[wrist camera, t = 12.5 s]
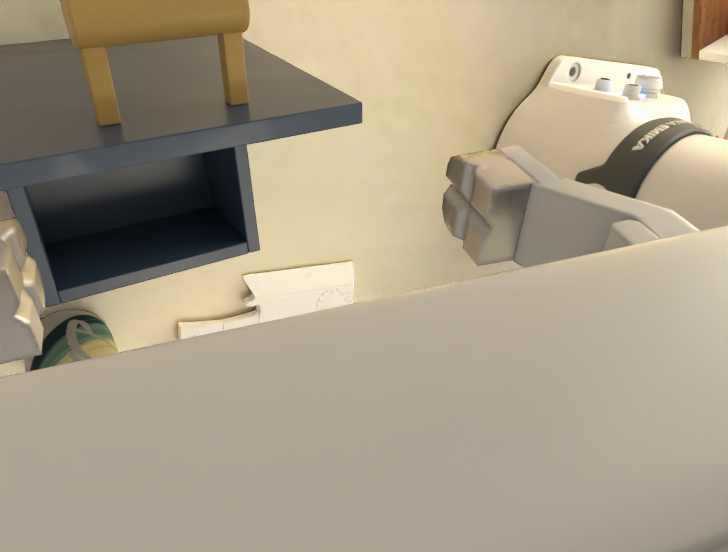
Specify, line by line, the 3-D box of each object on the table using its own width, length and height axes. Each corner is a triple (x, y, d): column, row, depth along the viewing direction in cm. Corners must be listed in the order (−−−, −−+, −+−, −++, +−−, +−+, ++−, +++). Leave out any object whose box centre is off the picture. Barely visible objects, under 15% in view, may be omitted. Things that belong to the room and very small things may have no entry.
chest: (221, 210, 45) (260, 250, 39) (33, 253, 39) (46, 307, 34) (191, 26, 39) (233, 40, 33) (-36, 48, 33) (-35, 70, 27)
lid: (362, 123, 23) (363, -25, 20) (-17, 194, 18) (-86, 7, 15) (237, 49, 33) (226, -57, 30) (-32, 81, 27) (-75, -45, 24)
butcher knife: (177, 282, 45) (181, 288, 44) (351, 260, 53) (358, 265, 52) (177, 341, 47) (182, 348, 46) (346, 312, 55) (352, 318, 54)
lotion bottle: (110, 302, 43) (190, 494, 28) (112, 370, 46) (187, 581, 30) (18, 312, 40) (52, 533, 25) (26, 384, 43) (61, 625, 28)
